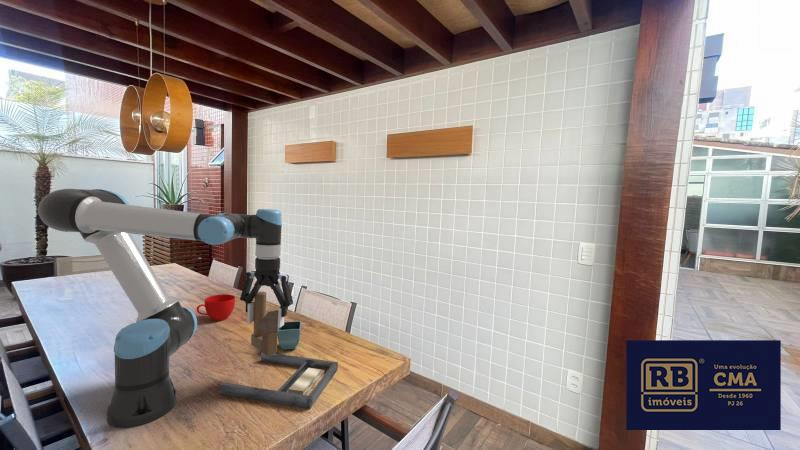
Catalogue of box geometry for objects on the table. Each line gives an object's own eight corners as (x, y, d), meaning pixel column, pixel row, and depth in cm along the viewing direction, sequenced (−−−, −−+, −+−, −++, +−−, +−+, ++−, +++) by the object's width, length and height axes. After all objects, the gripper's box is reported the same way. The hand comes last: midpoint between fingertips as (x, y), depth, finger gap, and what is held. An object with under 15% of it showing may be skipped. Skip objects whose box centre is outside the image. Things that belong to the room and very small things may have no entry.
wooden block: (266, 356, 102) (268, 300, 101) (250, 344, 109) (252, 292, 107) (277, 352, 105) (279, 298, 103) (261, 341, 112) (262, 290, 110)
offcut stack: (302, 401, 97) (302, 392, 97) (287, 399, 98) (287, 389, 98) (324, 374, 113) (324, 365, 113) (310, 372, 114) (311, 364, 113)
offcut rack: (310, 408, 93) (310, 398, 93) (220, 394, 98) (220, 384, 98) (337, 370, 115) (337, 362, 115) (262, 359, 120) (262, 351, 119)
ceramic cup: (190, 321, 152) (190, 300, 151) (226, 311, 166) (226, 292, 165) (203, 328, 144) (203, 306, 144) (240, 317, 159) (240, 297, 158)
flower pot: (276, 352, 125) (276, 330, 125) (278, 343, 134) (279, 321, 133) (300, 351, 128) (300, 329, 127) (300, 341, 136) (301, 320, 136)
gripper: (306, 258, 106) (303, 324, 108) (243, 252, 110) (241, 316, 112) (295, 262, 99) (292, 332, 101) (228, 255, 103) (226, 324, 104)
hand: (265, 324), depth 106 cm, fingers closed on wooden block, 10 cm apart
